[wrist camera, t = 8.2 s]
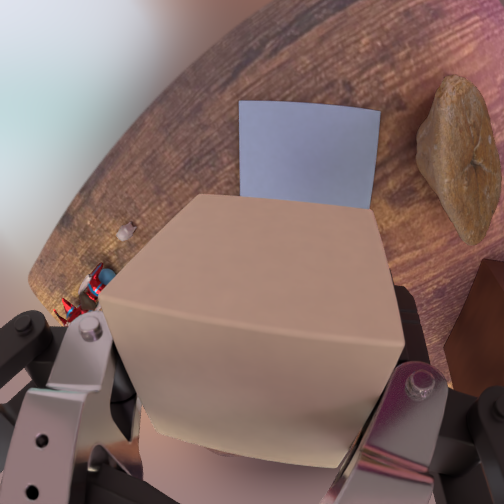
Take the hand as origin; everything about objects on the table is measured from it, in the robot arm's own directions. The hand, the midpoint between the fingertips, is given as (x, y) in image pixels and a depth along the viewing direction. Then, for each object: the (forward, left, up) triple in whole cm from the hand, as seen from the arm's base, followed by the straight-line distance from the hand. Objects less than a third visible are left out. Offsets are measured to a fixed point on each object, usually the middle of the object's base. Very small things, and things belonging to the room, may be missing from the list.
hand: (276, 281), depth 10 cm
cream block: (0, 0, 0) cm, 0 cm away
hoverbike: (+14, -21, -13) cm, 29 cm away
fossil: (-3, +10, -13) cm, 17 cm away
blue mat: (0, 0, -13) cm, 13 cm away
